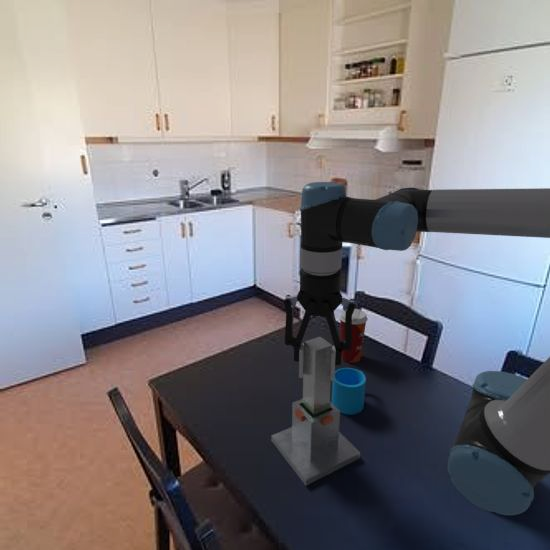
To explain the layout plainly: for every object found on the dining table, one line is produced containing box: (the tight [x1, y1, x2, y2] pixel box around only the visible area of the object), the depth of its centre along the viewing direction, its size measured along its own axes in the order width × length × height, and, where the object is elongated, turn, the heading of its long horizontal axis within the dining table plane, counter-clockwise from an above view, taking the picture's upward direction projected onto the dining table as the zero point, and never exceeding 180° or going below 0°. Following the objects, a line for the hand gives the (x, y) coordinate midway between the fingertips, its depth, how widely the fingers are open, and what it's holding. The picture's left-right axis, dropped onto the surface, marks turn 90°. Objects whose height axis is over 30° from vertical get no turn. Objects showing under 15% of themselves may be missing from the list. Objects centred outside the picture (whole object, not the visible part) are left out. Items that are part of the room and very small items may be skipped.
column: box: [301, 336, 333, 418], centre depth 82 cm, size 4×4×19 cm
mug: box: [331, 367, 367, 416], centre depth 103 cm, size 12×8×8 cm
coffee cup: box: [339, 308, 368, 364], centre depth 120 cm, size 8×8×15 cm
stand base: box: [270, 398, 361, 487], centre depth 86 cm, size 14×14×12 cm
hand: (317, 375), depth 82 cm, fingers closed on column, 6 cm apart
